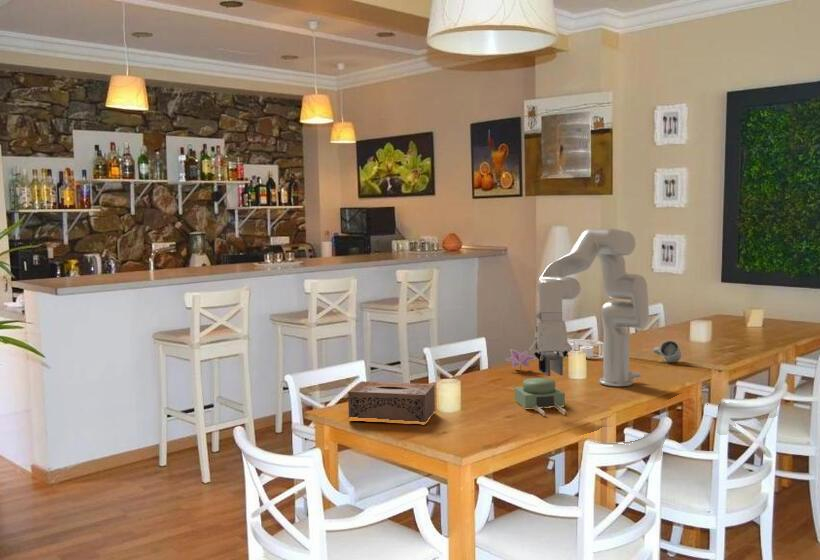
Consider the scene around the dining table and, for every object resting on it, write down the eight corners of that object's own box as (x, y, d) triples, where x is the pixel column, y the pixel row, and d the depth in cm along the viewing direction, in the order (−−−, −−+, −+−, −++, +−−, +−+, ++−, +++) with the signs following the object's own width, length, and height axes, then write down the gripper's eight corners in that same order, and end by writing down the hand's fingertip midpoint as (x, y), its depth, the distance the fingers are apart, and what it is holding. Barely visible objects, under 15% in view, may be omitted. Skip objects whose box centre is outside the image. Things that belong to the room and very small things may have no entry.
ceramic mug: (675, 366, 325) (686, 352, 326) (671, 359, 319) (682, 345, 319) (654, 355, 332) (664, 340, 332) (650, 348, 326) (660, 333, 326)
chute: (553, 369, 256) (553, 351, 255) (562, 375, 247) (562, 357, 246) (538, 370, 255) (538, 352, 254) (548, 376, 246) (548, 357, 246)
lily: (542, 372, 313) (538, 349, 317) (525, 368, 305) (522, 345, 308) (518, 378, 321) (515, 356, 324) (501, 374, 313) (499, 352, 316)
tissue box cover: (348, 421, 248) (348, 391, 247) (362, 409, 262) (361, 381, 261) (425, 425, 242) (425, 394, 241) (434, 413, 256) (434, 384, 255)
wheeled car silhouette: (555, 355, 346) (555, 339, 345) (572, 352, 353) (572, 336, 352) (590, 362, 330) (590, 345, 329) (606, 359, 337) (607, 342, 336)
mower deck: (552, 398, 271) (552, 376, 270) (574, 414, 250) (574, 390, 249) (514, 401, 268) (514, 378, 268) (533, 417, 248) (533, 393, 247)
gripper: (529, 319, 244) (529, 375, 246) (579, 317, 247) (579, 372, 249) (522, 316, 251) (522, 370, 253) (571, 314, 254) (570, 367, 256)
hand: (550, 370), depth 251 cm, fingers closed on chute, 5 cm apart
